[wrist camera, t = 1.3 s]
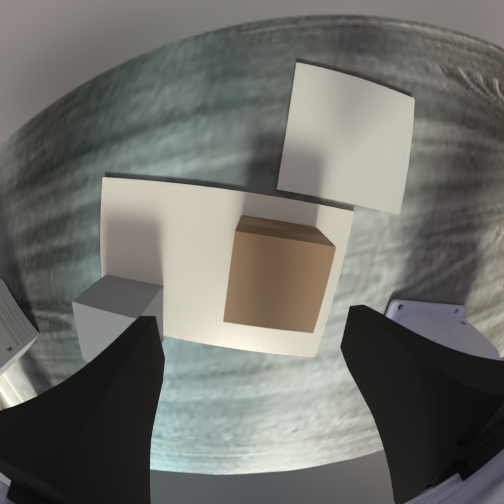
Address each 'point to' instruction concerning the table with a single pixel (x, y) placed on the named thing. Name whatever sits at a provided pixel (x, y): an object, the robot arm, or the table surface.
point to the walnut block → (277, 274)
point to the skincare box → (13, 330)
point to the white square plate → (346, 139)
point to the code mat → (205, 255)
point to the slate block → (113, 311)
